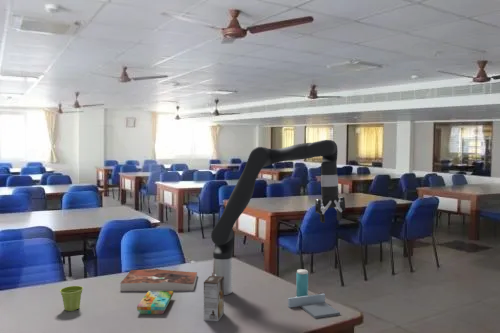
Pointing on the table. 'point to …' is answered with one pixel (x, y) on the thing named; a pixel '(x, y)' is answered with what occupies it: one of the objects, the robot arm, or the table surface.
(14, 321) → the table surface
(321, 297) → the wall
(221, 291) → the coffee box
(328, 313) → the mat
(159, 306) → the puzzle game
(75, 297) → the plant pot
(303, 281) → the jar
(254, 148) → the robot arm
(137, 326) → the table surface
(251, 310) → the table surface
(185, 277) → the board game box
